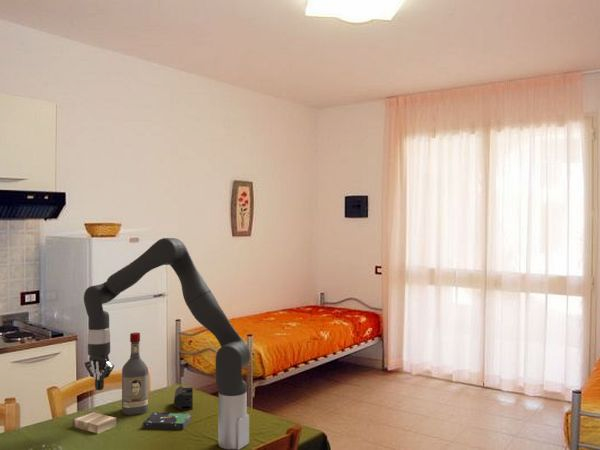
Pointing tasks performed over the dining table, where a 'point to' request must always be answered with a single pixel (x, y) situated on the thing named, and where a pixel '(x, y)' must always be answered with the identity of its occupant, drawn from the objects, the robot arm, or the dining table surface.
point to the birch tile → (94, 422)
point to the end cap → (183, 398)
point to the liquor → (134, 381)
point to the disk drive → (167, 421)
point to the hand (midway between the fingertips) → (99, 389)
